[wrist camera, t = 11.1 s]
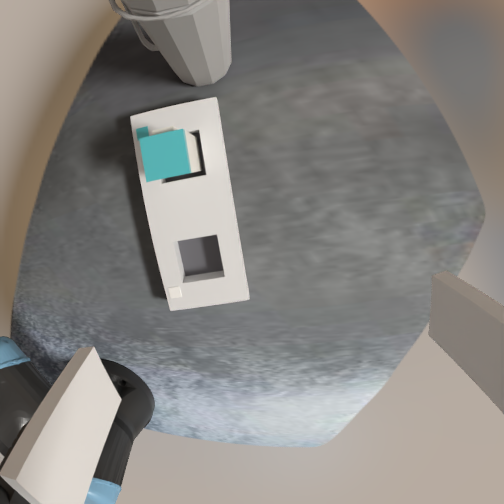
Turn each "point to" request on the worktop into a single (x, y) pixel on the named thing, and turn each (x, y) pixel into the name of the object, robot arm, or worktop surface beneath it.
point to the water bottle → (185, 35)
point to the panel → (194, 212)
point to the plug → (169, 153)
